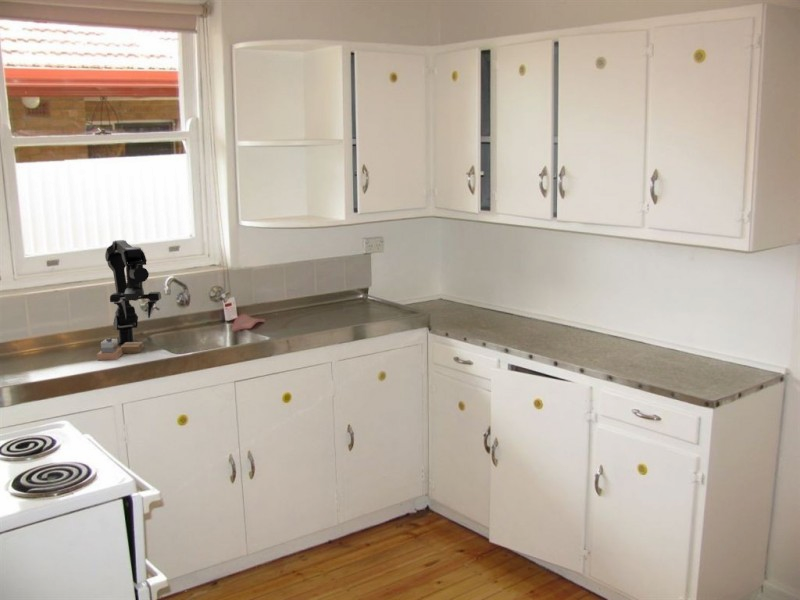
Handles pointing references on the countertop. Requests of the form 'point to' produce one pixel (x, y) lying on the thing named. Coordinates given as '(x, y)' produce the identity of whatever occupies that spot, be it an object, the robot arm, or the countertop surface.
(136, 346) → the stand
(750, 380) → the countertop surface
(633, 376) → the countertop surface
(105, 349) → the housing
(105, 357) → the stand
